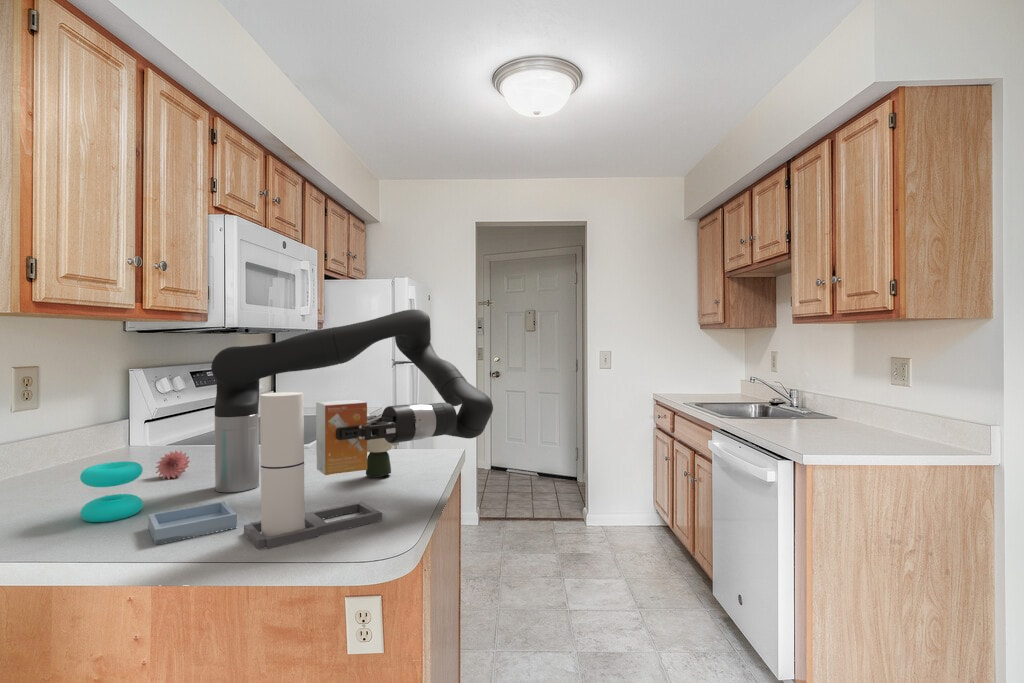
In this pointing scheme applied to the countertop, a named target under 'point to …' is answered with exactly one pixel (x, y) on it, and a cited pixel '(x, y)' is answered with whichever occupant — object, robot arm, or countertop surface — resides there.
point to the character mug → (378, 457)
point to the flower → (172, 464)
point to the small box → (340, 452)
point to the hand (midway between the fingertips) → (329, 431)
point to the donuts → (112, 504)
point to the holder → (315, 525)
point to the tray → (191, 522)
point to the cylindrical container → (282, 463)
